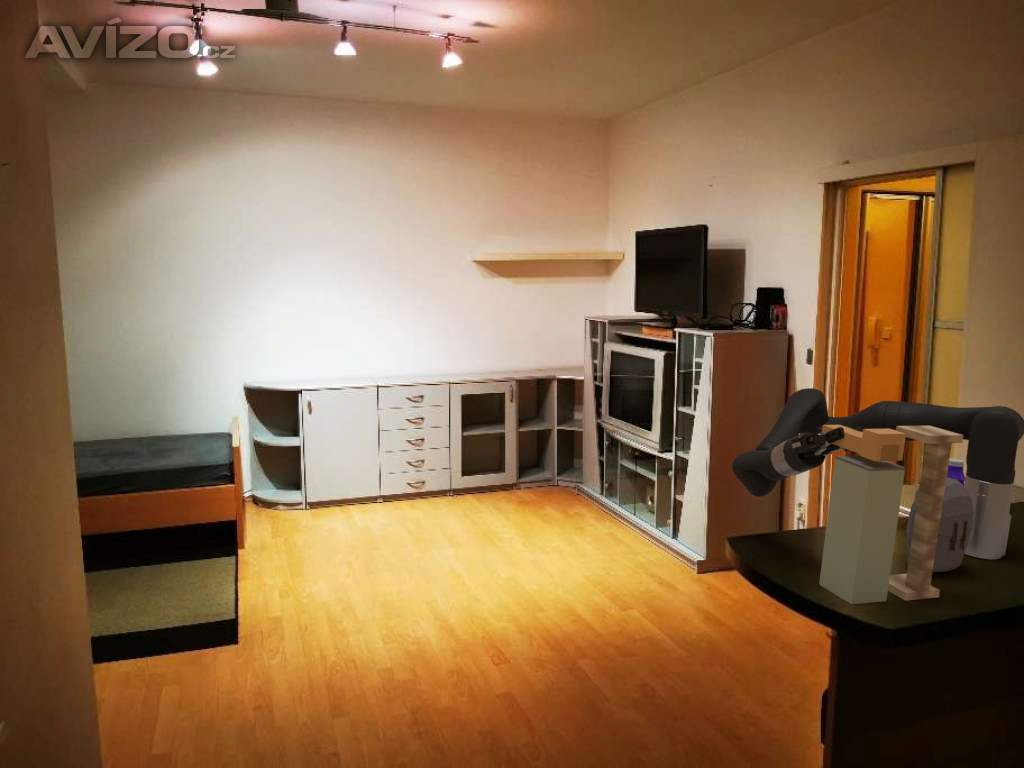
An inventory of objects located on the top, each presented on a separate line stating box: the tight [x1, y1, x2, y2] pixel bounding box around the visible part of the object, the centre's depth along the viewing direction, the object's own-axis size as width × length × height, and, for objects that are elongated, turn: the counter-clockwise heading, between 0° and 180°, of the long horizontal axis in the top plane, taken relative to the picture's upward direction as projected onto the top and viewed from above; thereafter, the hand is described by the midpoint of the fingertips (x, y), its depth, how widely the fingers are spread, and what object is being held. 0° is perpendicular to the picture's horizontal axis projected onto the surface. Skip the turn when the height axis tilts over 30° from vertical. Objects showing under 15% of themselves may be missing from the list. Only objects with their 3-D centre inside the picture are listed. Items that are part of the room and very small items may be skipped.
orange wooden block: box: [822, 425, 906, 462], centre depth 150 cm, size 6×16×5 cm, turn 17°
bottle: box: [947, 457, 966, 485], centre depth 193 cm, size 7×6×17 cm
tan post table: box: [888, 426, 964, 602], centre depth 152 cm, size 8×8×32 cm
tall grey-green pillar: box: [818, 454, 906, 605], centre depth 150 cm, size 8×9×26 cm
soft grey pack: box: [905, 477, 973, 573], centre depth 164 cm, size 15×8×20 cm, turn 117°
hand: (851, 432), depth 152 cm, fingers closed on orange wooden block, 3 cm apart
